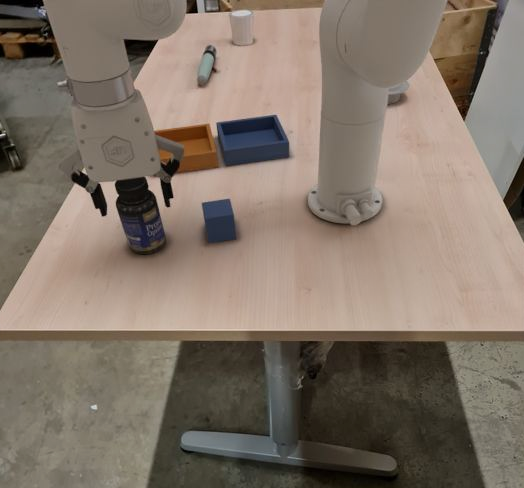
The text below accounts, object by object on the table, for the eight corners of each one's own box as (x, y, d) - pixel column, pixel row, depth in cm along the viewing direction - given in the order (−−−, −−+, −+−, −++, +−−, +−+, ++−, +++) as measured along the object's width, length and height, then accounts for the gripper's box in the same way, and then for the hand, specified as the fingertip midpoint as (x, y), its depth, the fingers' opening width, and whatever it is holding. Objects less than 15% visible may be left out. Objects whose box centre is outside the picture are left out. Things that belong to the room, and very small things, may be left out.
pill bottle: (159, 257, 76) (142, 195, 67) (123, 254, 77) (102, 192, 68) (171, 233, 79) (157, 172, 71) (137, 230, 80) (119, 169, 72)
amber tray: (218, 167, 93) (216, 151, 90) (153, 176, 92) (149, 160, 89) (211, 138, 100) (209, 123, 98) (151, 146, 99) (147, 131, 97)
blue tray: (289, 157, 94) (289, 141, 91) (225, 166, 93) (223, 150, 90) (276, 129, 101) (276, 114, 99) (217, 137, 100) (216, 122, 98)
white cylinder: (227, 40, 138) (225, 12, 133) (249, 36, 140) (247, 7, 134) (237, 47, 134) (234, 18, 129) (259, 43, 136) (257, 13, 130)
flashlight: (214, 80, 116) (222, 49, 129) (197, 71, 114) (207, 41, 127) (209, 92, 118) (218, 61, 131) (192, 84, 117) (203, 53, 129)
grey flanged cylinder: (385, 47, 95) (427, 38, 97) (359, 33, 101) (400, 24, 103) (376, 111, 105) (416, 101, 107) (354, 94, 111) (391, 85, 113)
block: (236, 238, 78) (233, 214, 74) (208, 243, 77) (204, 218, 74) (232, 222, 81) (229, 198, 77) (205, 226, 80) (201, 202, 77)
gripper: (27, 107, 56) (76, 229, 70) (174, 90, 58) (195, 212, 71) (35, 83, 61) (80, 201, 74) (170, 67, 63) (191, 186, 76)
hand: (136, 206), depth 73 cm, fingers open, 9 cm apart
